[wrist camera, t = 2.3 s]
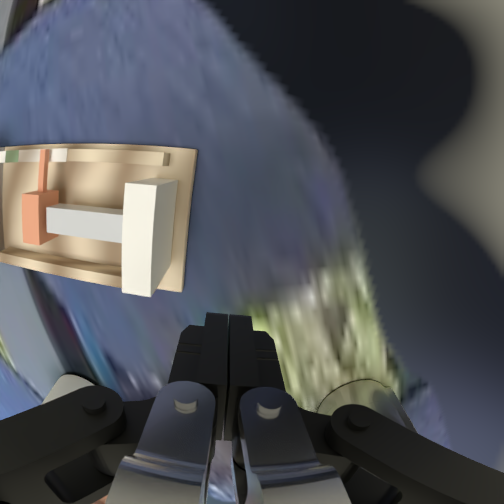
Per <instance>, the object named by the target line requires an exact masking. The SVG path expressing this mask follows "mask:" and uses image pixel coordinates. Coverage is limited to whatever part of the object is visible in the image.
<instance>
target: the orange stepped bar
mask: <svg viewBox="0 0 504 504" xmlns="http://www.w3.org/2000/svg"><path fill="white" fill-rule="evenodd" d="M49 151H50V149H41V150H40V161H39V175H38V190H37V191H32V192H28V193H24V194H22V232H23V243H28V244H34V245H39V246H40V245H42V244H44V243H46V242H48V241H50V240H52V239H54V238H56V237H58V236H59V234H54V233H47V220H46V207H49V206H52V205H56V204H58V200H59V190H47V176H48V162H49Z"/></svg>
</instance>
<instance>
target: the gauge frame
mask: <svg viewBox="0 0 504 504" xmlns="http://www.w3.org/2000/svg"><path fill="white" fill-rule="evenodd" d="M41 149H50V151H49V162H48V176H47V190H59V200H58V204H59V203H62V204H73V205H83V206H93V207H103V208H113V209H122V210H123V205H124V191H125V183H127V182H132V181H138V180H143V179H148V178H164V179H174V180H178V185H177V194H176V204H175V214H174V225H173V237H172V250H171V265H170V267H169V269H168V270H167V272H166V273H165V275H164V277H163V278H162V280H161V281H160V283H159V284H158V286H157V288H156V289H163V290H169V291H176V292H182V290H183V287H184V273H185V260H186V248H187V237H188V227H189V217H190V208H191V199H192V191H193V183H194V175H195V167H196V160H197V153H198V150H196V149H186V148H174V147H161V146H146V145H125V144H44V145H26V146H12V147H0V262H4V263H8V264H11V265H15V266H20V267H24V268H28V269H32V270H36V271H41V272H45V273H50V274H54V275H59V276H63V277H68V278H73V279H78V280H82V281H87V282H92V283H98V284H103V285H108V286H114V287H119V288H122V243H117V242H110V241H103V240H96V239H89V238H82V237H75V236H68V235H61V234H59V236H58V237H56V238H54V239H52V240H50V241H48V242H46V243H44V244H42V245H40V246H39V245H34V244H28V243H23V232H22V194H24V193H28V192H32V191H37V190H38V175H39V161H40V150H41ZM156 289H155V290H156ZM154 292H155V291H154ZM154 292H153V293H154Z"/></svg>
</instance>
